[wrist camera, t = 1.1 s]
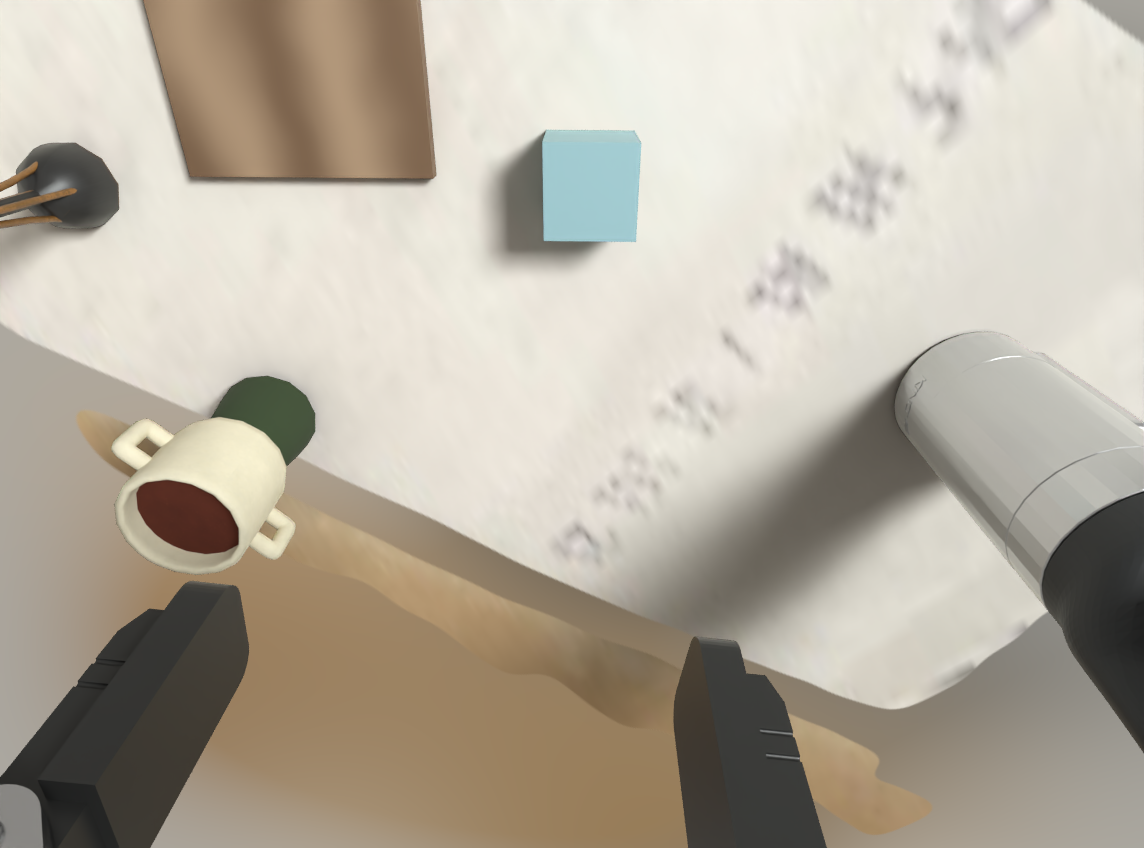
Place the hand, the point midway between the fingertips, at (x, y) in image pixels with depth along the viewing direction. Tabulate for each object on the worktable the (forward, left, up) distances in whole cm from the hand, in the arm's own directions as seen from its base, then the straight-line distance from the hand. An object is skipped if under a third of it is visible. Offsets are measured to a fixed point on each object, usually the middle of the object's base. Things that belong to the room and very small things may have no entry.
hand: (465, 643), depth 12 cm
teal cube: (-3, -2, -33) cm, 33 cm away
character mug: (+19, +14, -33) cm, 41 cm away
